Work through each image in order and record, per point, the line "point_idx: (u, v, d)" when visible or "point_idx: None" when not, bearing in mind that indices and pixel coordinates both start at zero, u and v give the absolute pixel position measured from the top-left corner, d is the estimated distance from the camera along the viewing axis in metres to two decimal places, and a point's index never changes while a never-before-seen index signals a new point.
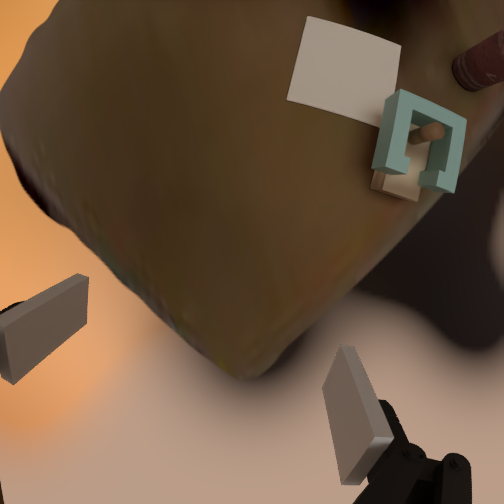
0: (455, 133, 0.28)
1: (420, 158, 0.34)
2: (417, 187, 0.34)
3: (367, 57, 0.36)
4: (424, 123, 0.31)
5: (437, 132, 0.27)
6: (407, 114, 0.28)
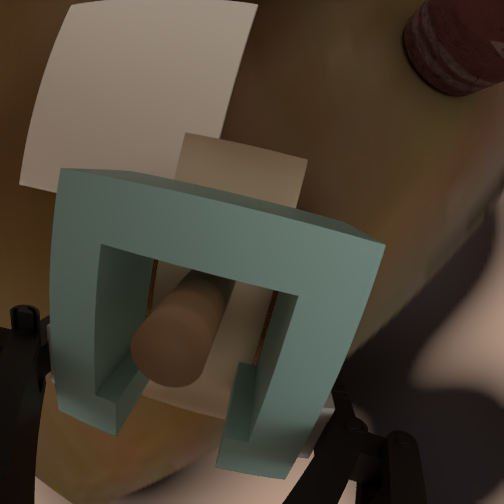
0: (310, 318, 0.08)
1: (239, 332, 0.14)
2: None
3: (163, 52, 0.16)
4: None
5: (165, 363, 0.07)
6: (83, 267, 0.08)
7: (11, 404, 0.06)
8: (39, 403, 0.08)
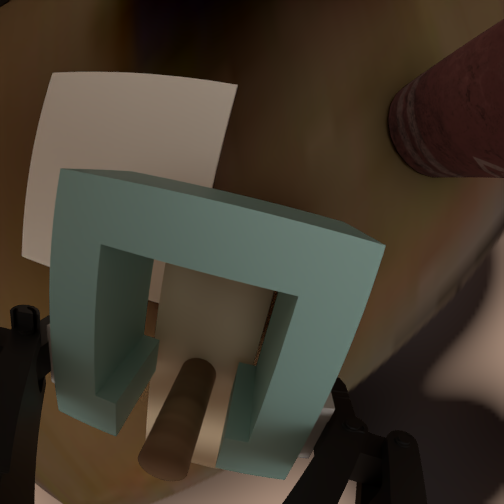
0: (309, 319, 0.08)
1: (220, 410, 0.16)
2: None
3: (144, 140, 0.18)
4: None
5: (162, 469, 0.09)
6: (83, 268, 0.08)
7: (11, 404, 0.06)
8: (39, 403, 0.08)
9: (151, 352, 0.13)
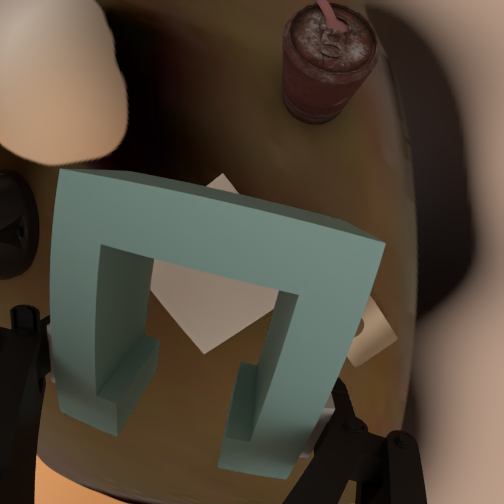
0: (310, 317, 0.08)
1: None
2: (386, 329, 0.27)
3: None
4: None
5: None
6: (83, 268, 0.08)
7: (11, 404, 0.06)
8: (39, 403, 0.08)
9: (152, 352, 0.13)
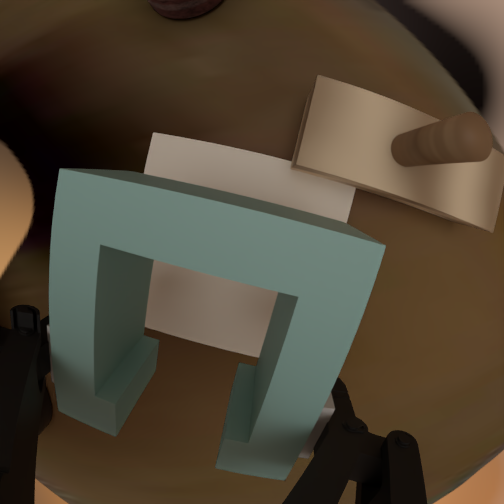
0: (310, 319, 0.08)
1: None
2: None
3: None
4: None
5: (479, 138, 0.08)
6: (82, 268, 0.08)
7: (11, 404, 0.06)
8: (39, 403, 0.08)
9: (151, 352, 0.13)
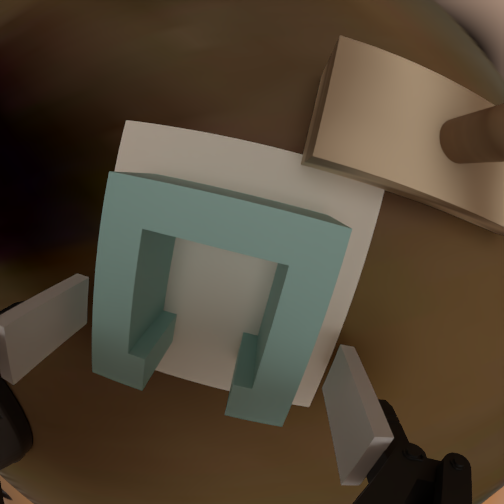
0: (297, 283, 0.11)
1: None
2: None
3: None
4: None
5: None
6: (126, 247, 0.11)
7: None
8: None
9: (170, 323, 0.16)
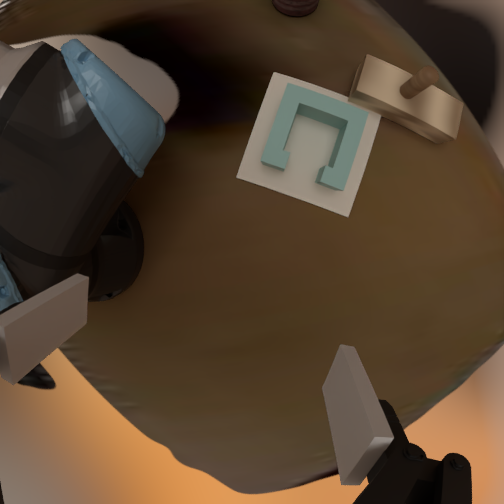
0: (351, 127, 0.30)
1: (425, 88, 0.28)
2: (451, 99, 0.28)
3: (296, 116, 0.35)
4: (323, 118, 0.33)
5: (432, 75, 0.22)
6: (292, 108, 0.30)
7: None
8: None
9: None
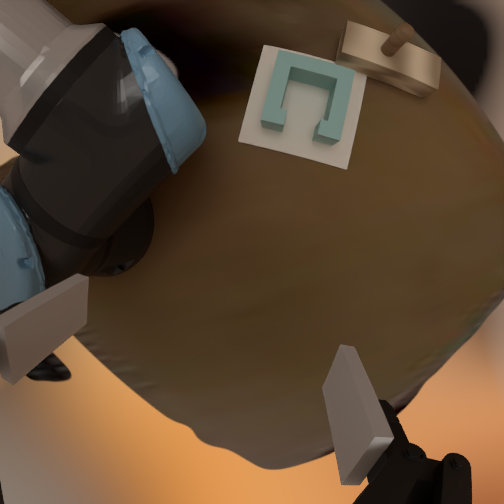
0: (340, 83, 0.31)
1: (404, 47, 0.30)
2: (429, 55, 0.29)
3: (288, 82, 0.36)
4: (313, 80, 0.34)
5: (408, 30, 0.24)
6: (284, 71, 0.31)
7: None
8: None
9: None
